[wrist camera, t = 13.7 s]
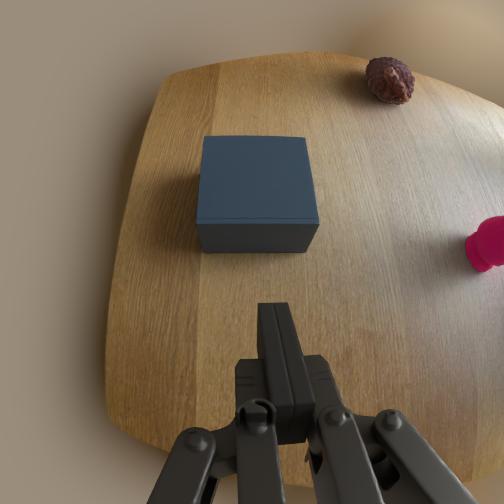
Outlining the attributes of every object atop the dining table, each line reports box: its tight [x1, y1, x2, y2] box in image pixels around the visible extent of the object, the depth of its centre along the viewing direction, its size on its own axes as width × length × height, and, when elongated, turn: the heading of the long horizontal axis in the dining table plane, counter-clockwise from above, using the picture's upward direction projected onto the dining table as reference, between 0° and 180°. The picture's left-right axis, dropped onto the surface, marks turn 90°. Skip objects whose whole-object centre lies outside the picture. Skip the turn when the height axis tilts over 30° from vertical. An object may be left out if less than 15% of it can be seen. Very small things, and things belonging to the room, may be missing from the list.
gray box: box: [196, 136, 320, 253], centre depth 34 cm, size 7×12×12 cm
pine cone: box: [365, 57, 415, 105], centre depth 46 cm, size 18×10×10 cm
